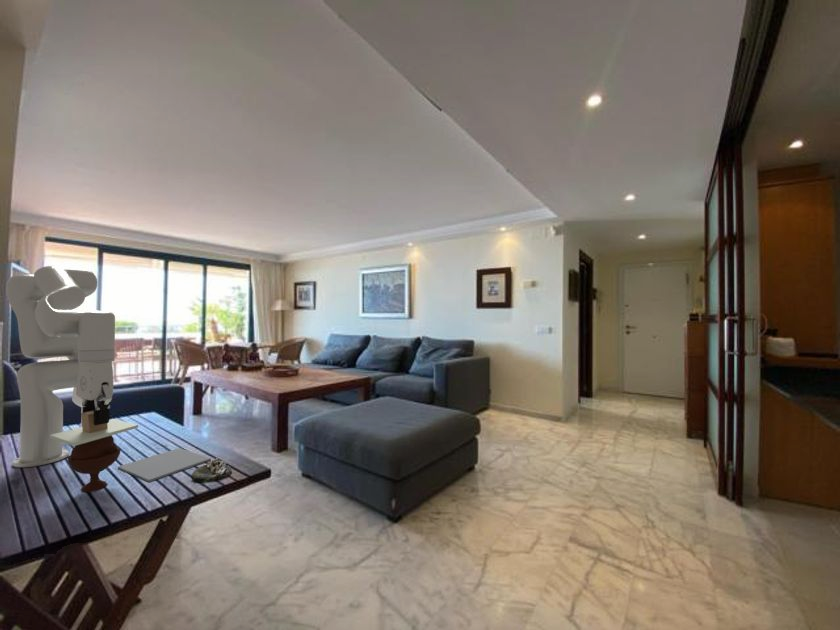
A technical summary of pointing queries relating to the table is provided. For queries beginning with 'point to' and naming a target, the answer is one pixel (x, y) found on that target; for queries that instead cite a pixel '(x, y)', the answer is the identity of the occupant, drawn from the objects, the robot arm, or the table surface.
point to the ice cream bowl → (94, 460)
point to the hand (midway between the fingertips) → (95, 421)
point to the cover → (92, 430)
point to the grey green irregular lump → (211, 472)
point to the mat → (163, 464)
